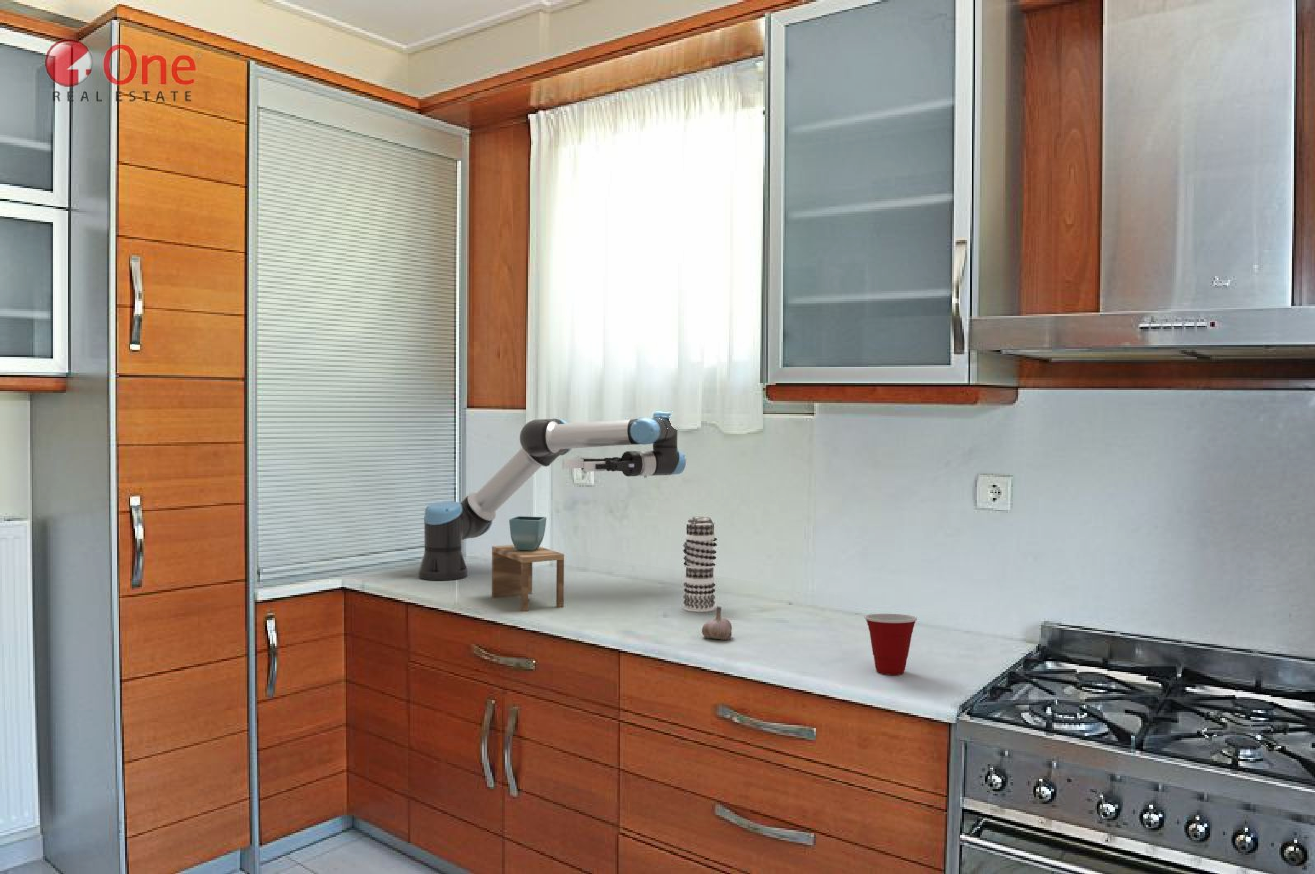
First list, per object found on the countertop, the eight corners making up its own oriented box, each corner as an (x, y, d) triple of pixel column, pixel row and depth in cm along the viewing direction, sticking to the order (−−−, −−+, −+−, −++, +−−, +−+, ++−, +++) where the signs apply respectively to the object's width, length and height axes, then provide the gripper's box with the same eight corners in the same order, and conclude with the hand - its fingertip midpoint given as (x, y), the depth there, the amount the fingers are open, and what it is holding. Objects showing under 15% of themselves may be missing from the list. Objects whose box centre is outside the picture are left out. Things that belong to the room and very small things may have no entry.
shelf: (491, 596, 280) (492, 546, 280) (530, 592, 286) (530, 543, 286) (523, 611, 261) (523, 557, 260) (563, 606, 267) (564, 554, 267)
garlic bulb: (736, 641, 230) (736, 608, 230) (706, 642, 229) (706, 609, 229) (727, 634, 238) (727, 601, 237) (698, 635, 236) (698, 602, 236)
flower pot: (546, 547, 278) (547, 516, 278) (539, 552, 269) (539, 520, 269) (516, 547, 279) (517, 515, 279) (508, 551, 270) (508, 519, 270)
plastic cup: (903, 663, 211) (904, 609, 211) (924, 677, 201) (926, 620, 200) (855, 665, 210) (856, 610, 209) (874, 679, 199) (875, 621, 199)
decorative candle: (721, 610, 264) (722, 518, 263) (689, 612, 261) (690, 519, 260) (708, 604, 272) (709, 515, 272) (677, 606, 269) (678, 516, 269)
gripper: (659, 479, 280) (593, 481, 269) (617, 473, 302) (554, 475, 290) (659, 453, 280) (593, 454, 269) (617, 449, 301) (554, 450, 290)
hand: (573, 465), depth 280 cm, fingers open, 13 cm apart
